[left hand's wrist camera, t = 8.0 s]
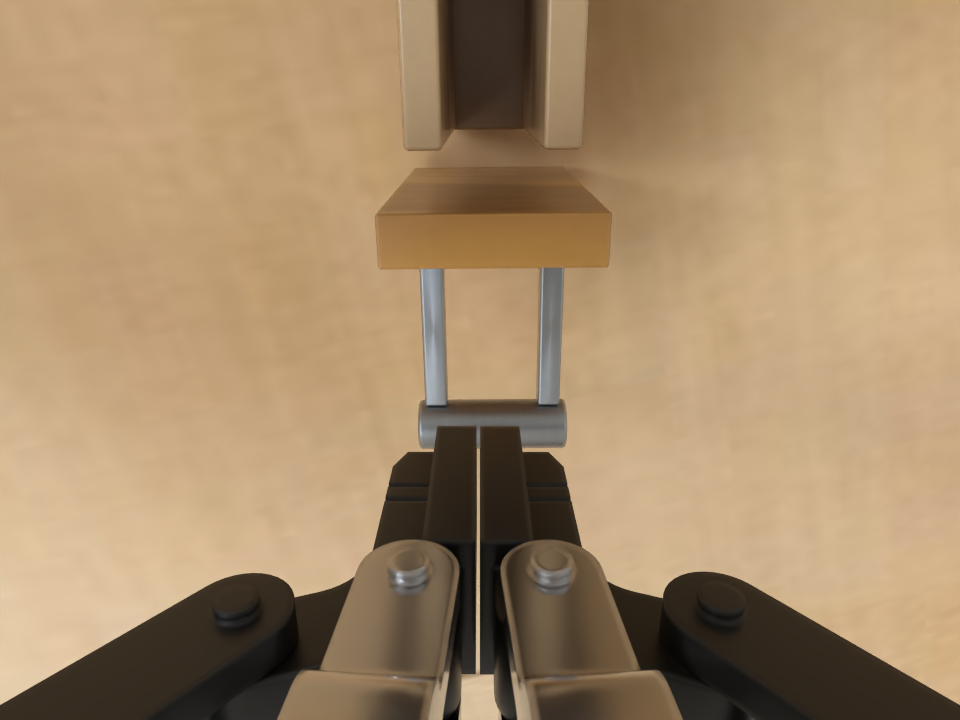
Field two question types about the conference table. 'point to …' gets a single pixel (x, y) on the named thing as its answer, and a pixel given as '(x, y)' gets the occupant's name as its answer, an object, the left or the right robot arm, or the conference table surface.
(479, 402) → the drawer
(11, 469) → the conference table surface
